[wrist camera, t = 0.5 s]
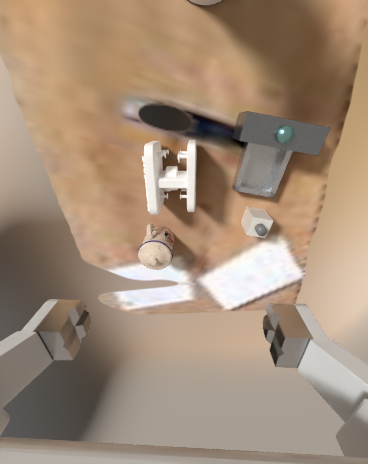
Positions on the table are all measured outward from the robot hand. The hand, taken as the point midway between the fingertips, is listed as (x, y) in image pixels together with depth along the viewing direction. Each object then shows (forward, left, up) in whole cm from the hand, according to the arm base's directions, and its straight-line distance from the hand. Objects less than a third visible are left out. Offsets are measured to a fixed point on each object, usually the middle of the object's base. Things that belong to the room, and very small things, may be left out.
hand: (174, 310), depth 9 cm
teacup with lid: (+23, -5, -45) cm, 51 cm away
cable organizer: (+4, -3, -45) cm, 45 cm away
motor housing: (-3, +17, -45) cm, 48 cm away
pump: (+12, +20, -45) cm, 50 cm away
